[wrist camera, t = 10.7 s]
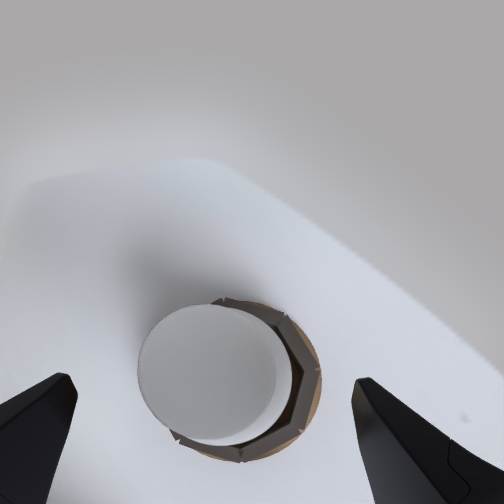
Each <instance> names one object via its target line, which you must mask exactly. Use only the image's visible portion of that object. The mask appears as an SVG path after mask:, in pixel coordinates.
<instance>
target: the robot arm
mask: <svg viewBox="0 0 504 504" xmlns="http://www.w3.org/2000/svg"><path fill="white" fill-rule="evenodd" d="M77 399H78V393H77V390H76V388H75V386H74V384H73V382H72V380H71V378H70V376H69V375H68V374H65V373H56V374H54V375H52V376H50V377H49V378H47V379H45V380H43V381H42V382H40V383H38V384H36V385H34V386H33V387H31V388H29V389H27V390H26V391H24V392H22V393H20V394H18V395H17V396H15V397H13V398H11V399H9V400H8V401H6V402H4V403H2V404H0V504H46V502H47V498H48V494H49V491H50V488H51V484H52V481H53V478H54V474H55V471H56V468H57V465H58V462H59V459H60V456H61V453H62V450H63V447H64V445H65V442H66V439H67V436H68V433H69V429H70V425H71V421H72V417H73V414H74V410H75V406H76V403H77ZM351 403H352V410H353V415H354V421H355V427H356V432H357V439H358V444H359V449H360V452H361V456H362V459H363V463H364V466H365V469H366V473H367V476H368V480H369V483H370V487H371V490H372V494H373V497H374V501H375V504H504V471H503V470H501V469H499V468H497V467H495V466H493V465H491V464H490V463H488V462H486V461H484V460H482V459H481V458H479V457H477V456H476V455H474V454H472V453H471V452H469V451H468V450H466V449H465V448H463V447H462V446H460V445H459V444H458V443H456V442H455V441H454V440H452V439H450V438H449V437H448V436H447V435H445V434H444V433H443V432H441V431H440V430H439V429H437V428H436V427H435V426H433V425H432V424H431V423H429V422H428V421H427V420H425V419H424V418H423V417H421V416H420V415H419V414H417V413H416V412H415V411H413V410H412V409H411V408H409V407H408V406H407V405H405V404H404V403H403V402H401V401H400V400H399V399H398V398H396V397H395V396H394V395H392V394H391V393H390V392H388V391H387V390H386V389H385V388H383V387H382V386H381V385H379V384H378V383H377V382H375V381H374V380H373V379H372V378H370V377H366V378H359V379H357V380H356V381H355V385H354V390H353V394H352V400H351Z"/></svg>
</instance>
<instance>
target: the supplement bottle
mask: <svg viewBox="0 0 504 504" xmlns="http://www.w3.org/2000/svg"><path fill="white" fill-rule="evenodd" d="M137 375H138V383H139V388H140V391H141V394H142V396H143V399H144V401H145V403H146V405H147V406H148V408H149V409H150V411H151V412H152V414H153V415H154V416H155V417H156V418H157V419H158V420H159V421H160V422H161V423H162V424H163V425H165V426H166V427H168V428H169V429H171V430H173V431H174V432H176V433H178V434H181V435H183V436H185V437H187V438H189V439H191V440H193V441H196V442H199V443H203V444H207V445H215V446H227V445H234V444H239V443H243V442H246V441H249V440H251V439H253V438H255V437H257V436H259V435H260V434H262V433H263V432H265V431H266V430H267V429H269V428H270V427H271V426H272V425H273V424H274V423H275V422H276V420H277V419H278V418H279V416H280V415H281V413H282V412H283V410H284V408H285V406H286V404H287V401H288V399H289V395H290V391H291V384H292V371H291V364H290V360H289V357H288V354H287V352H286V349H285V347H284V345H283V343H282V342H281V340H280V339H279V337H278V336H277V334H276V333H275V332H274V331H273V330H272V329H271V328H270V327H269V326H268V325H267V324H266V323H264V322H263V321H262V320H260V319H259V318H257V317H255V316H253V315H252V314H249V313H247V312H244V311H241V310H238V309H234V308H227V307H223V306H219V305H211V304H199V305H192V306H187V307H184V308H181V309H179V310H176V311H174V312H172V313H171V314H169V315H167V316H166V317H165V318H163V319H162V320H161V321H160V322H158V323H157V324H156V326H155V327H154V328H153V329H152V330H151V331H150V333H149V334H148V336H147V338H146V339H145V341H144V343H143V345H142V348H141V351H140V354H139V359H138V372H137Z"/></svg>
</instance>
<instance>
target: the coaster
mask: <svg viewBox="0 0 504 504" xmlns="http://www.w3.org/2000/svg"><path fill="white" fill-rule="evenodd" d="M211 305H219V306H223V307H227V308H234V309H238V310H241V311H244V312H247V313H249V314H252V315H253V316H255V317H257V318H259V319H260V320H262V321H263V322H264V323H266V324H267V325H268V326H269V327H270V328H271V329H272V330H273V331H274V332H275V333H276V334H277V336H278V337H279V339H280V340H281V342H282V343H283V345H284V347H285V349H286V352H287V354H288V357H289V360H290V364H291V371H292V384H291V391H290V395H289V399H288V401H287V404H286V406H285V408H284V410H283V412H282V413H281V415H280V416H279V418H278V419H277V420H276V422H275V423H274V424H273V425H272V426H271V427H270V428H269V429H267V430H266V431H265V432H263V433H262V434H260V435H259V436H257V437H255V438H253V439H251V440H249V441H246V442H243V443H239V444H234V445H227V446H215V445H207V444H203V443H199V442H196V441H193V440H191V439H189V438H187V437H185V436H183V435H181V434H178V433H176V432H174V431H173V430H171V429H169V430H170V431H171V433H172V435H173V437H174V439H175V441H176V440H179V439H180V442H179V444H181V445H184V446H187V447H189V448H192V449H194V450H196V451H198V452H199V453H201V454H204V455H206V456H209V457H211V458H215V459H219V460H224V461H232V462H237V463H240V462H244V463H245V462H248V461H253V460H258V459H262V458H265V457H268V456H271V455H273V454H275V453H277V452H279V451H281V450H283V449H284V448H286V447H288V446H289V445H290V444H291V443H293V442H294V441H295V440H296V439H297V438H298V437H299V436H300V435H301V434H302V433H303V432H304V431H305V429H306V428H307V426H308V425H309V424H310V422H311V420H312V418H313V416H314V414H315V412H316V409H317V407H318V404H319V400H320V395H321V385H322V378H321V369H320V364H319V360H318V357H317V354H316V352H315V349H314V347H313V346H312V344H311V342H310V340H309V339H308V337H307V336H306V334H305V333H304V332H303V331H302V330H301V329H300V327H299V326H298V325H297V324H296V323H294V322H293V321H292V320H291V319H290V318H289V317H288V315H287V316H285V315H284V312H280V311H277V310H275V309H273V308H270V307H268V306H265V305H262V304H259V303H253V302H248V301H237V300H233V299H230V298H225V301H224V302H223V300H222V298H220V299H218V300H216V301H215V302H213V303H211Z"/></svg>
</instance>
